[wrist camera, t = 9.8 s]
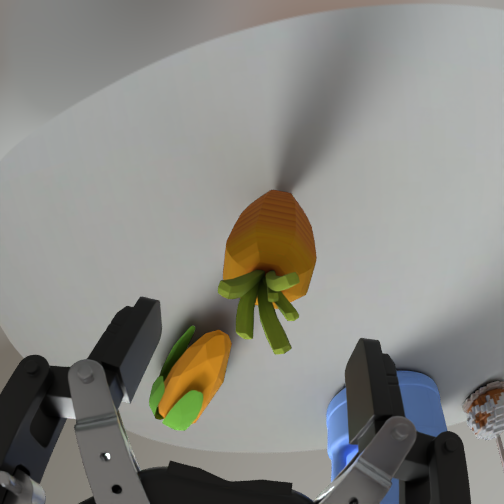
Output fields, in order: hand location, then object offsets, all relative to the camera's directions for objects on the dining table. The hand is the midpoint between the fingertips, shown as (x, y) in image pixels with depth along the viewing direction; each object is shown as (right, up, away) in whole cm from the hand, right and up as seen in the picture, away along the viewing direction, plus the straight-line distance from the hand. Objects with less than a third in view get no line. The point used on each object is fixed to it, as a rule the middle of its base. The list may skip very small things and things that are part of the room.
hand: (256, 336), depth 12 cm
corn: (-7, -10, +25) cm, 27 cm away
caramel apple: (+35, -18, +23) cm, 46 cm away
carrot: (+2, +8, +13) cm, 15 cm away
